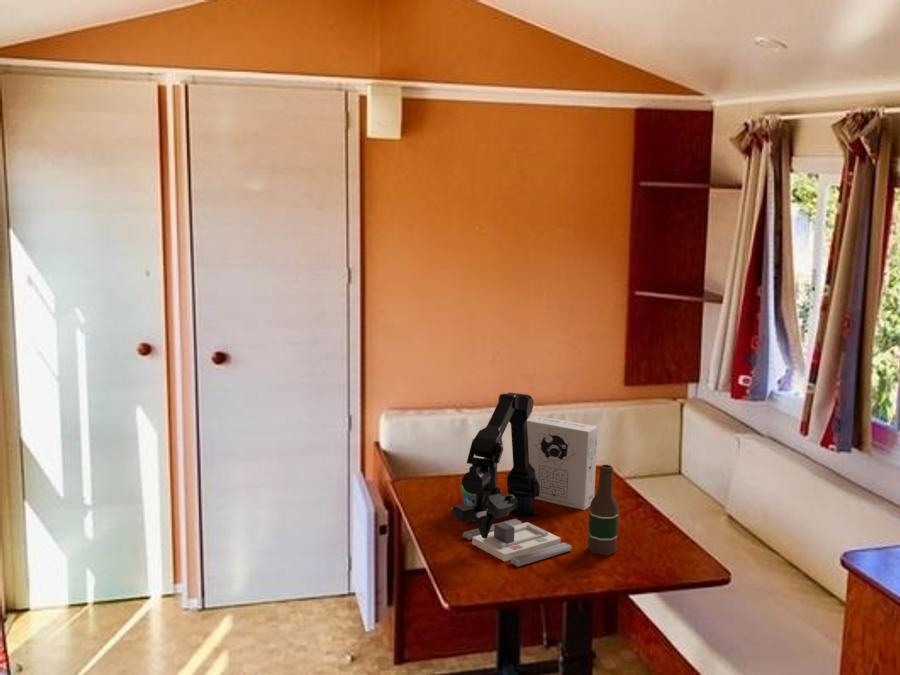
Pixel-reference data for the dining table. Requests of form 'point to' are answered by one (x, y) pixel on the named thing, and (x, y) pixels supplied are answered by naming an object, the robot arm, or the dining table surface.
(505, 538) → the switch knob
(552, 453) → the cereal box
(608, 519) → the beer bottle
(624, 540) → the dining table surface
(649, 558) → the dining table surface
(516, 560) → the grey twin rods
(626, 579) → the dining table surface
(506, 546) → the breaker panel
